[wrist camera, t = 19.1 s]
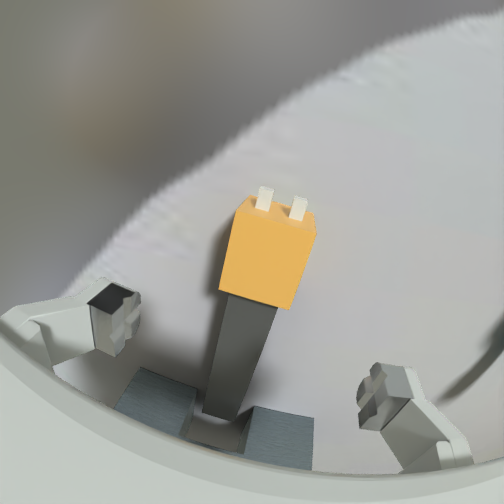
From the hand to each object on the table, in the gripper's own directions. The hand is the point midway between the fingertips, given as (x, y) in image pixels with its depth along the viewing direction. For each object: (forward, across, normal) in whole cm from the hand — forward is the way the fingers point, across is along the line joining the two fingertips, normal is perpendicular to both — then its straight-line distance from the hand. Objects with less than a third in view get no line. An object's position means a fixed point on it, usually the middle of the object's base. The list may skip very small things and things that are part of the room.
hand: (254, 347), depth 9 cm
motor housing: (+12, 0, +22) cm, 26 cm away
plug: (+12, +1, +7) cm, 14 cm away
